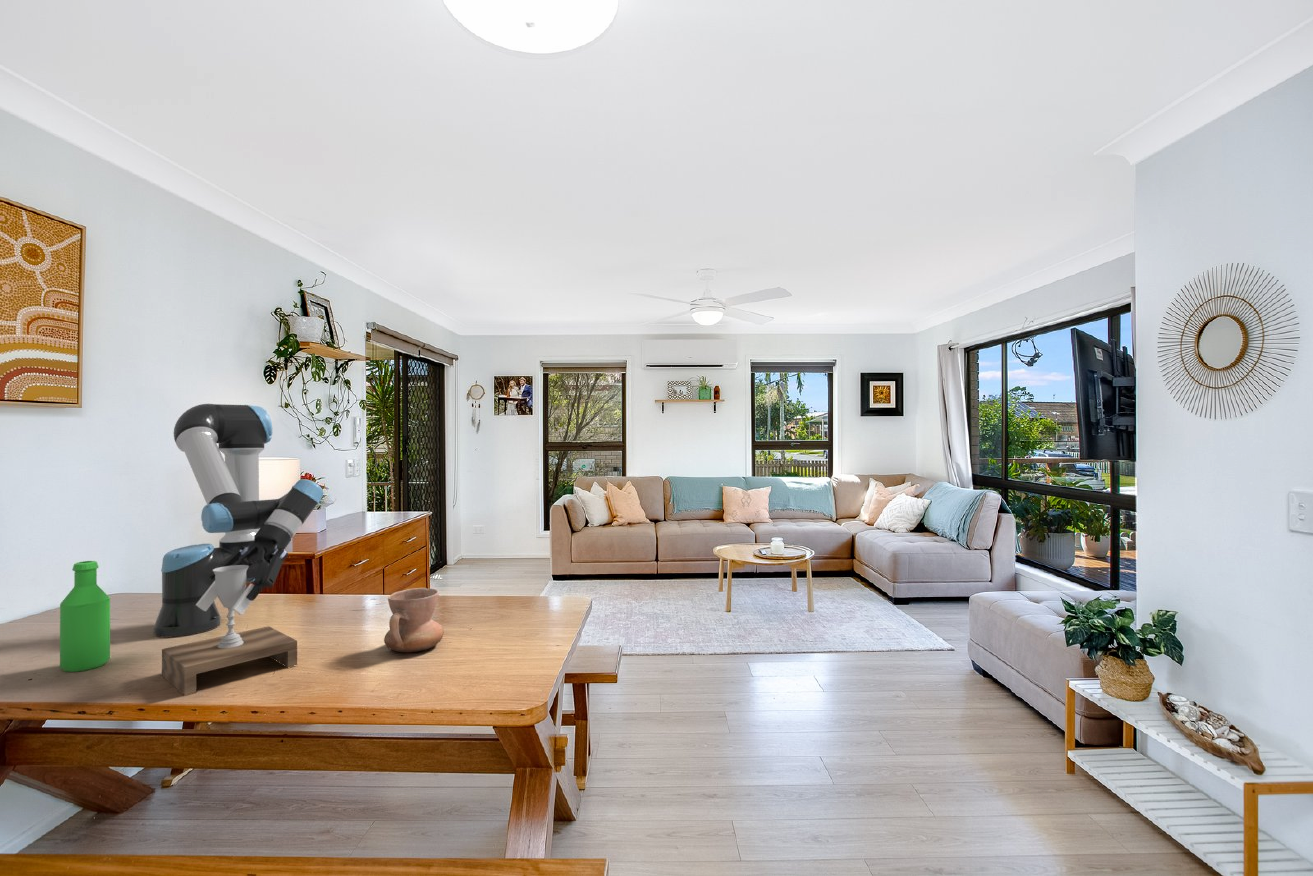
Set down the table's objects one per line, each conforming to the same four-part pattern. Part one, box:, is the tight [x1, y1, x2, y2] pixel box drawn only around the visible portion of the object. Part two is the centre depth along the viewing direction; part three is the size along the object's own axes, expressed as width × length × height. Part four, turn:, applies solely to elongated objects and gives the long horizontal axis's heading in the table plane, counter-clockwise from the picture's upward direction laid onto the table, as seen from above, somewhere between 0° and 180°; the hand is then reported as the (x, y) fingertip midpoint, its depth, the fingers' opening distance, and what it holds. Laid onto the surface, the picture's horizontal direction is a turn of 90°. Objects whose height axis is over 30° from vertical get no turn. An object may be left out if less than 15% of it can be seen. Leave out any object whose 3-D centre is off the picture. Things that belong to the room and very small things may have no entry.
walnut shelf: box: [161, 625, 298, 696], centre depth 144 cm, size 18×22×6 cm
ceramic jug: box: [383, 587, 445, 653], centre depth 160 cm, size 18×14×14 cm
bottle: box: [59, 560, 111, 673], centre depth 147 cm, size 9×9×25 cm
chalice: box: [213, 565, 249, 648], centre depth 144 cm, size 7×7×18 cm
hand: (218, 609), depth 141 cm, fingers open, 10 cm apart
